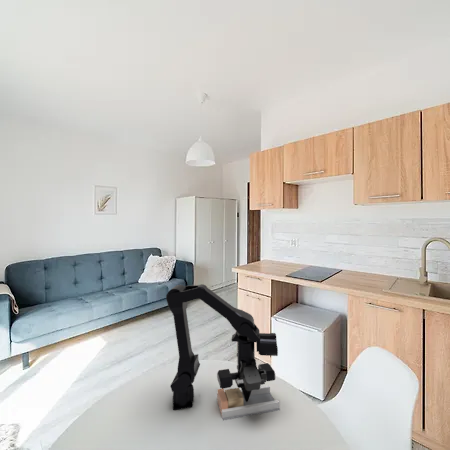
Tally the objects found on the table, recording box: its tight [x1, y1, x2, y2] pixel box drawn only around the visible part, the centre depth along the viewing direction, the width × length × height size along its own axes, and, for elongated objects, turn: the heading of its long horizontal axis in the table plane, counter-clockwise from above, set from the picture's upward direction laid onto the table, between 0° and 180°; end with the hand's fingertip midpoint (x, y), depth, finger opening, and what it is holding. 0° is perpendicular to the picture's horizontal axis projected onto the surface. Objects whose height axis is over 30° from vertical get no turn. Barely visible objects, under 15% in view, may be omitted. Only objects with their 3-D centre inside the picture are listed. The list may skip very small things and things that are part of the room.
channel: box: [216, 384, 281, 421], centre depth 80 cm, size 19×10×5 cm, turn 103°
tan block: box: [224, 387, 243, 408], centre depth 79 cm, size 5×5×4 cm
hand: (246, 400), depth 80 cm, fingers closed
